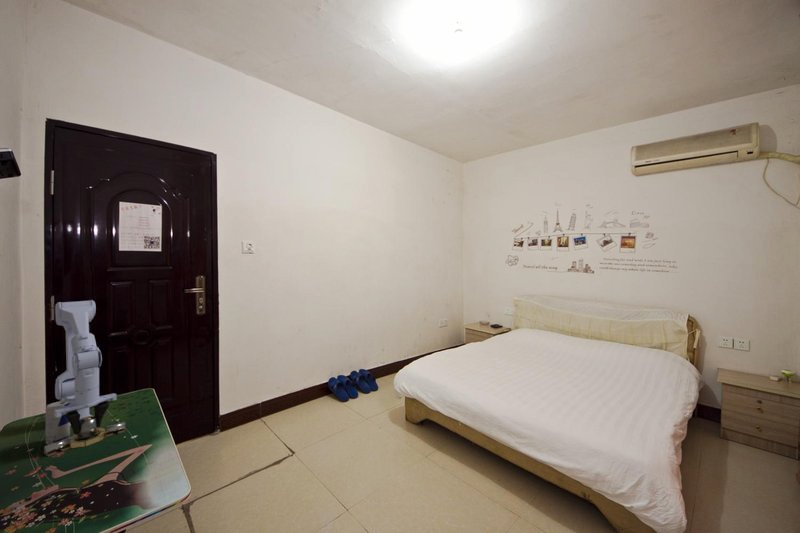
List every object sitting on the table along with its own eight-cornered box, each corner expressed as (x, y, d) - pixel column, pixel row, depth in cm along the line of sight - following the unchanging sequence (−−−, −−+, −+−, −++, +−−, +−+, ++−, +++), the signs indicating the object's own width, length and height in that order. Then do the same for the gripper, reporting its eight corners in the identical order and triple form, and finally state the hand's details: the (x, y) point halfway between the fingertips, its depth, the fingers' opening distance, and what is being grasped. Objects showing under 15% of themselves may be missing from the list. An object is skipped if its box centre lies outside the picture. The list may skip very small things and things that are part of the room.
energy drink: (74, 436, 104) (74, 400, 104) (55, 445, 99) (55, 407, 99) (60, 435, 105) (60, 399, 105) (40, 444, 99) (40, 407, 99)
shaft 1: (66, 445, 99) (66, 436, 99) (70, 448, 97) (70, 439, 97) (43, 453, 94) (43, 444, 94) (47, 456, 93) (47, 447, 93)
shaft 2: (105, 437, 104) (105, 429, 104) (105, 433, 106) (105, 425, 106) (125, 431, 107) (125, 423, 107) (124, 427, 110) (124, 420, 110)
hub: (74, 436, 101) (74, 419, 101) (93, 429, 105) (93, 413, 105) (80, 439, 99) (80, 422, 99) (99, 432, 103) (99, 416, 103)
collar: (62, 443, 100) (62, 438, 100) (99, 430, 108) (99, 425, 108) (73, 450, 96) (73, 445, 96) (110, 436, 104) (110, 432, 104)
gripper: (60, 399, 94) (60, 444, 94) (120, 382, 107) (120, 422, 107) (51, 394, 97) (51, 438, 97) (111, 379, 110) (111, 418, 110)
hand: (87, 429), depth 102 cm, fingers closed on hub, 4 cm apart
